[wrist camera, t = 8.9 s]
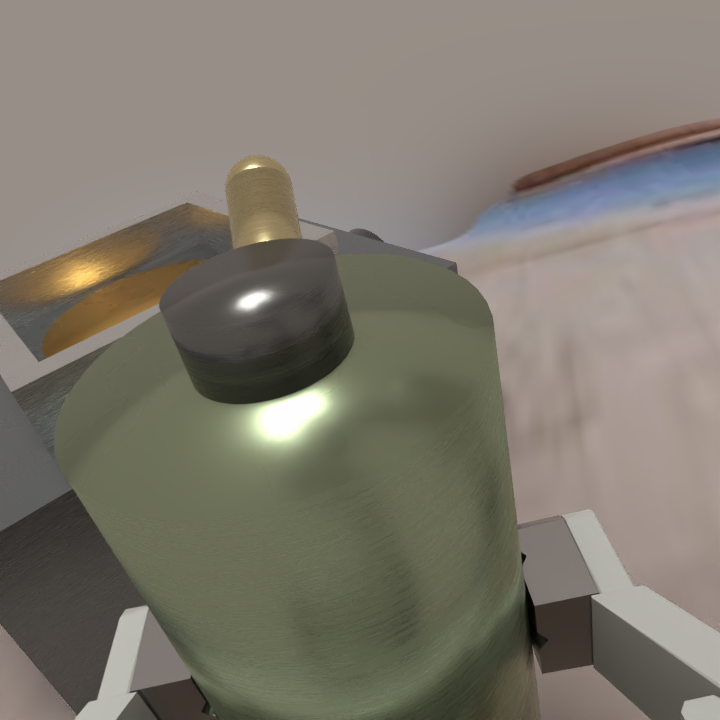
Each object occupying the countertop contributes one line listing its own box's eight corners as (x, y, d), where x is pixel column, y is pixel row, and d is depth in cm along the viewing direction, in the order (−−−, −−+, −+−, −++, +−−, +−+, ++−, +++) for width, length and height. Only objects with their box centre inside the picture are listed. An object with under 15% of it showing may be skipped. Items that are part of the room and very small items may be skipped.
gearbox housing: (302, 299, 39) (259, 151, 34) (510, 392, 27) (489, 186, 22) (-20, 474, 30) (-138, 311, 25) (80, 718, 19) (-103, 501, 14)
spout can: (591, 916, 11) (557, 275, 4) (303, 970, 11) (-141, 438, 5) (498, 613, 16) (416, 107, 10) (301, 654, 17) (88, 188, 10)
